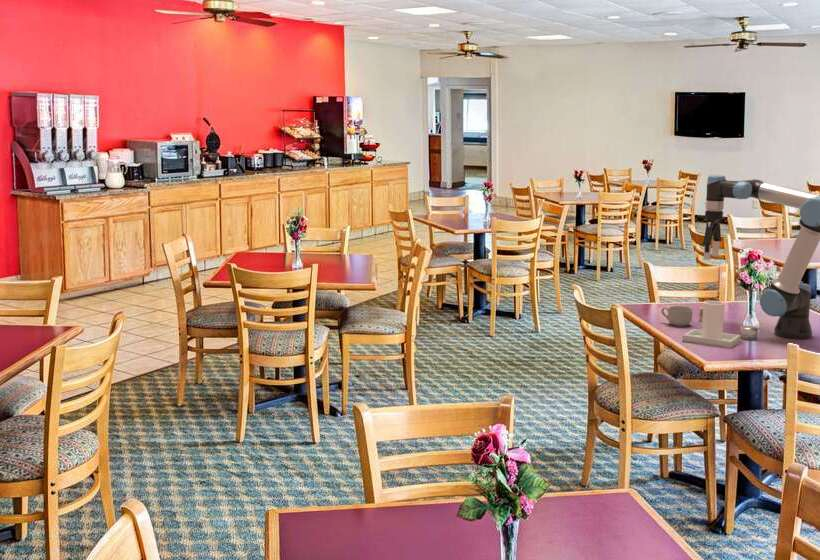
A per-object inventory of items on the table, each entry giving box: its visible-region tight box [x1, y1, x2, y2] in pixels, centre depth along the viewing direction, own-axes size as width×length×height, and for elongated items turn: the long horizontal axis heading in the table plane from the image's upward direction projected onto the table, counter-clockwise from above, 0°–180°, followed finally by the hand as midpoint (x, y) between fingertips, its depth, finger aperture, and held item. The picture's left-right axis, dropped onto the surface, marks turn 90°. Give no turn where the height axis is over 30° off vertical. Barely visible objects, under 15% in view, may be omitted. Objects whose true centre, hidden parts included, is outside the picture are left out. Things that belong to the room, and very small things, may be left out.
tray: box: [682, 328, 742, 349], centre depth 391 cm, size 20×14×3 cm
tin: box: [739, 325, 759, 341], centre depth 397 cm, size 7×7×5 cm
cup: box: [701, 300, 725, 340], centre depth 390 cm, size 8×8×16 cm
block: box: [698, 306, 703, 323], centre depth 431 cm, size 5×5×6 cm
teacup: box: [660, 305, 694, 328], centre depth 422 cm, size 14×11×8 cm
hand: (711, 257), depth 416 cm, fingers open, 13 cm apart
